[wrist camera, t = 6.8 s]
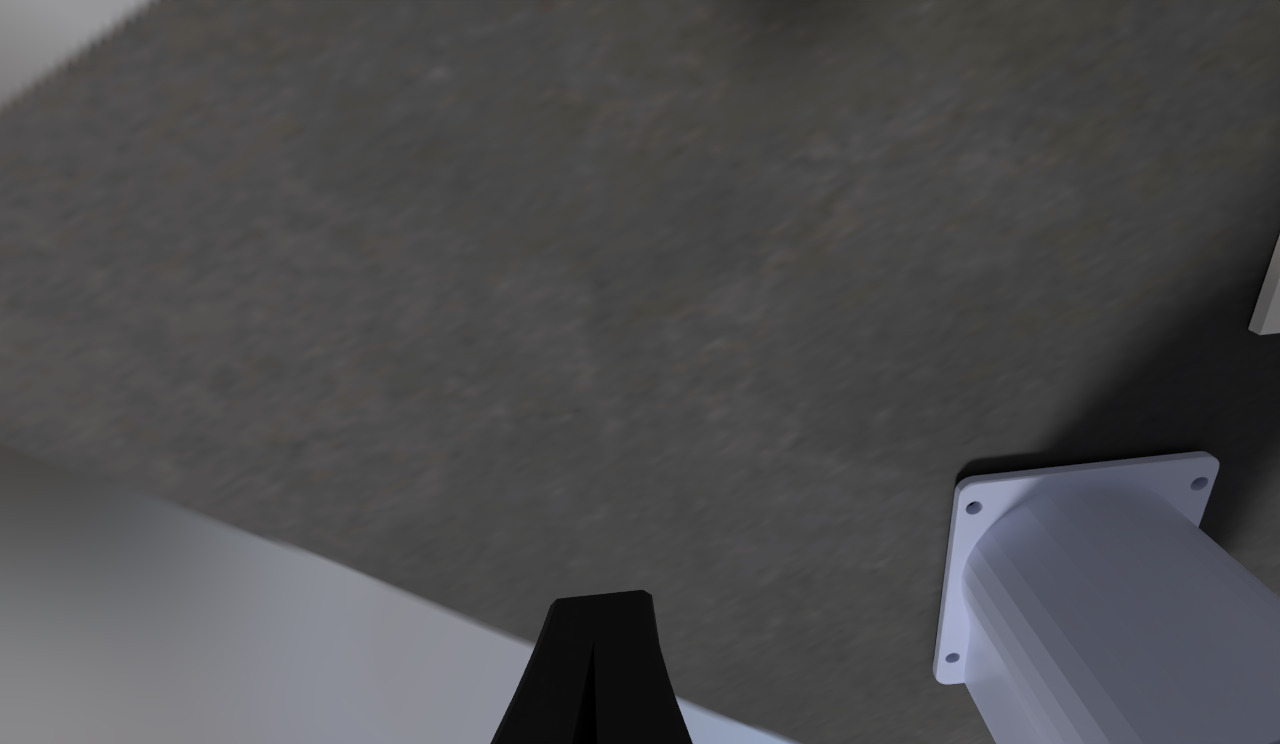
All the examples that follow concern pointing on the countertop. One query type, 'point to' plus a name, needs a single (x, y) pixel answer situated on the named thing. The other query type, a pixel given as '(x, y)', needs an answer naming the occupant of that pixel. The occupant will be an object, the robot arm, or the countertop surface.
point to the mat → (1269, 300)
